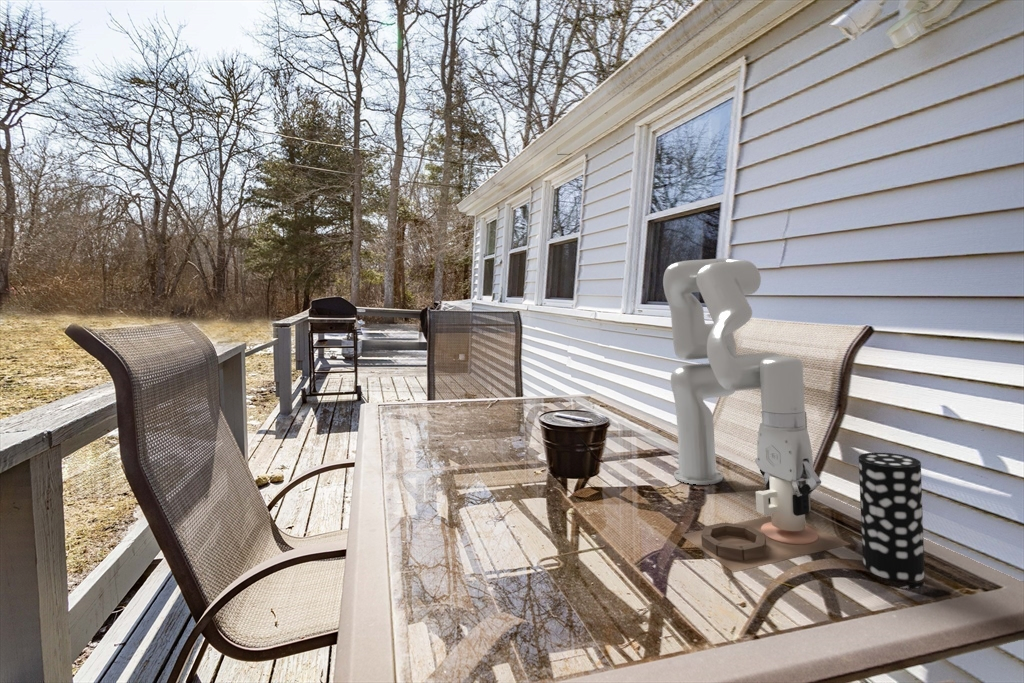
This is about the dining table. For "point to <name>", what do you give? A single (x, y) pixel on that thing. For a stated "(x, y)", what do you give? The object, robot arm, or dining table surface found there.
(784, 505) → the white ceramic pitcher
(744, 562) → the holder board
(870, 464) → the white-spotted black cylinder
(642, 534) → the dining table surface
